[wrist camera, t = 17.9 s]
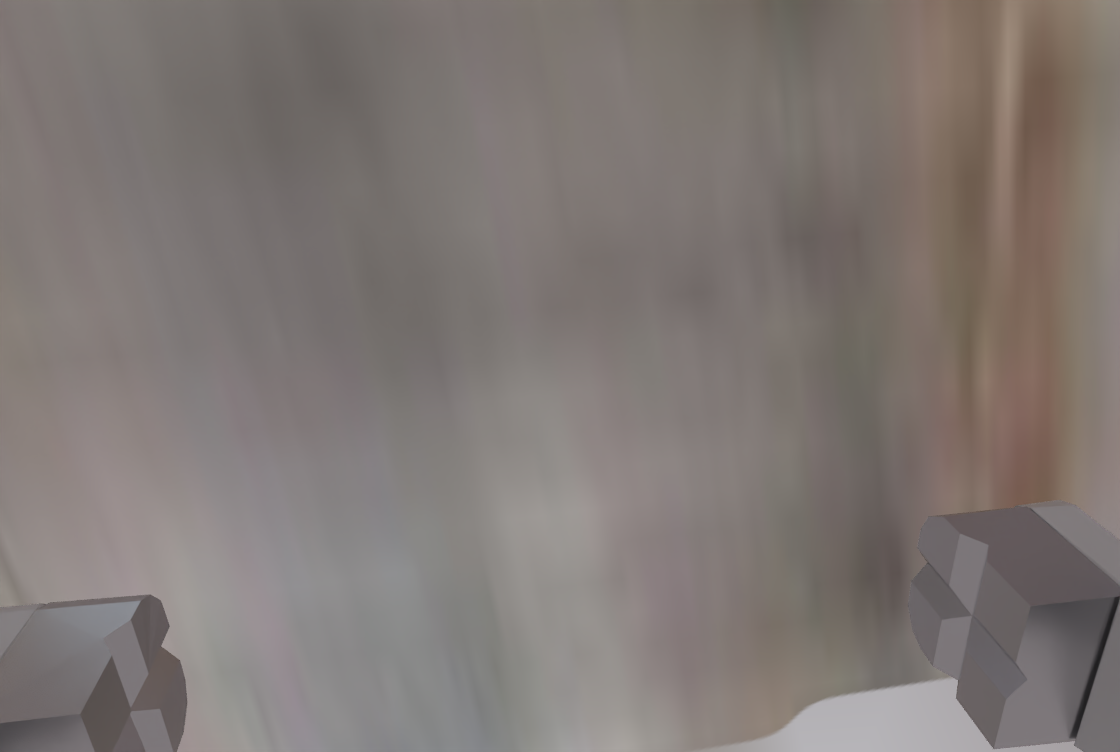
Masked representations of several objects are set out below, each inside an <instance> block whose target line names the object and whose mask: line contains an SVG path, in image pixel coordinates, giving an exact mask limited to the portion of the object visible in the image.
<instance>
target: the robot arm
mask: <svg viewBox="0 0 1120 752" xmlns="http://www.w3.org/2000/svg"><path fill="white" fill-rule="evenodd" d="M917 548H918V550H919V551H920V553H921V554H922V556H923V557H924V558H925V560H926V561H927V564H926V565H925V566H924V567H923V568H922V569H921V571H920V572H919V573H918V574H917V575H916V576H915V577H914V578H913V580H912V581H911V587H910V595H909V602H908V608H909V614H910V620H911V625H912V630H913V633H914V635H915V637H916V640H917V642H918V644H919V646H920V649H921V650H922V651H923V653H924V654H925V656H926V657H927V659H928V660H929V661H930V663H931V664H932V666H933V667H935V668H937V669H939V670H940V671H942V672H944V673H946V674H948V675H949V676H951V677H953V678H955V679H957V680H958V686H957V695H956V699H957V700H958V701H959V703H960V704H961V705H962V707H963V708H964V710H965V711H966V712H967V713H968V715H969V716H970V718H971V719H972V720H973V722H974V723H975V724H976V726H977V727H978V728H979V730H980V731H981V732H982V734H983V735H984V737H985V738H986V739H987V741H988V742H989V743H990V745H991V746H992V747H993V749H1000V748H1010V747H1020V746H1030V745H1040V744H1050V743H1060V742H1070V741H1075V743H1074V746H1076V747H1077V748H1079V749H1081V750H1082V751H1083V752H1120V540H1119V539H1118V538H1116V537H1115V536H1114V535H1113V534H1111V533H1110V532H1109V531H1108V530H1106V529H1105V528H1104V527H1103V526H1101V525H1100V524H1099V523H1097V522H1096V521H1095V520H1094V519H1092V518H1091V517H1090V516H1089V515H1087V514H1086V513H1085V512H1084V511H1082V510H1081V509H1080V508H1078V507H1077V506H1076V505H1074V504H1071V503H1068V502H1064V501H1061V500H1056V501H1048V502H1041V503H1033V504H1025V505H1018V506H1015V507H1014V508H1005V509H996V510H986V511H977V512H967V513H958V514H948V515H939V516H929V517H928V518H927V520H926V522H925V523H924V525H923V526H922V528H921V531H920V536H919V542H918V547H917ZM169 627H170V626H169V623H168V620H167V617H166V614H165V611H164V608H163V605H162V603H161V600H159V599H157V598H156V597H154V596H152V595H138V596H126V597H113V598H101V599H88V600H76V601H63V602H51V603H48V604H31V605H21V606H10V607H0V752H177V749H178V747H179V744H180V741H181V738H182V735H183V732H184V725H185V717H186V708H187V693H186V683H185V677H184V673H183V670H182V666H181V663H180V660H179V659H177V658H176V657H175V656H173V655H172V654H171V653H169V652H168V651H167V650H165V649H164V648H162V647H161V645H162V643H163V640H164V638H165V636H166V634H167V631H168V629H169Z"/></svg>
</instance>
